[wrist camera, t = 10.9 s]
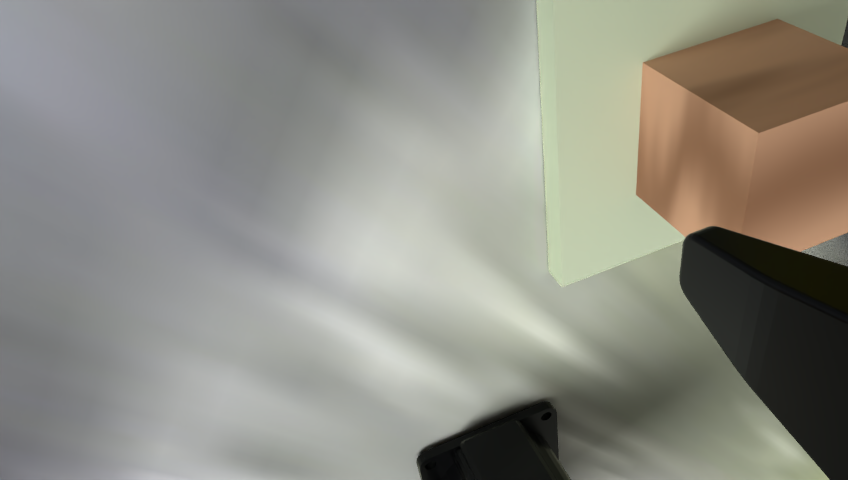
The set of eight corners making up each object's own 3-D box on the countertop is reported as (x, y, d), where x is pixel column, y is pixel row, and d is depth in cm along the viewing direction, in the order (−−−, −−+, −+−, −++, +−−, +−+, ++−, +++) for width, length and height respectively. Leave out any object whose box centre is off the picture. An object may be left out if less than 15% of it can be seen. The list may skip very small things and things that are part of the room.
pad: (787, 180, 29) (806, 193, 28) (548, 271, 27) (562, 287, 26) (849, -108, 22) (876, -103, 22) (535, -17, 20) (552, -7, 19)
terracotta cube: (754, 151, 26) (868, 223, 22) (635, 194, 25) (733, 278, 21) (777, 18, 23) (915, 76, 19) (642, 62, 22) (758, 133, 18)
